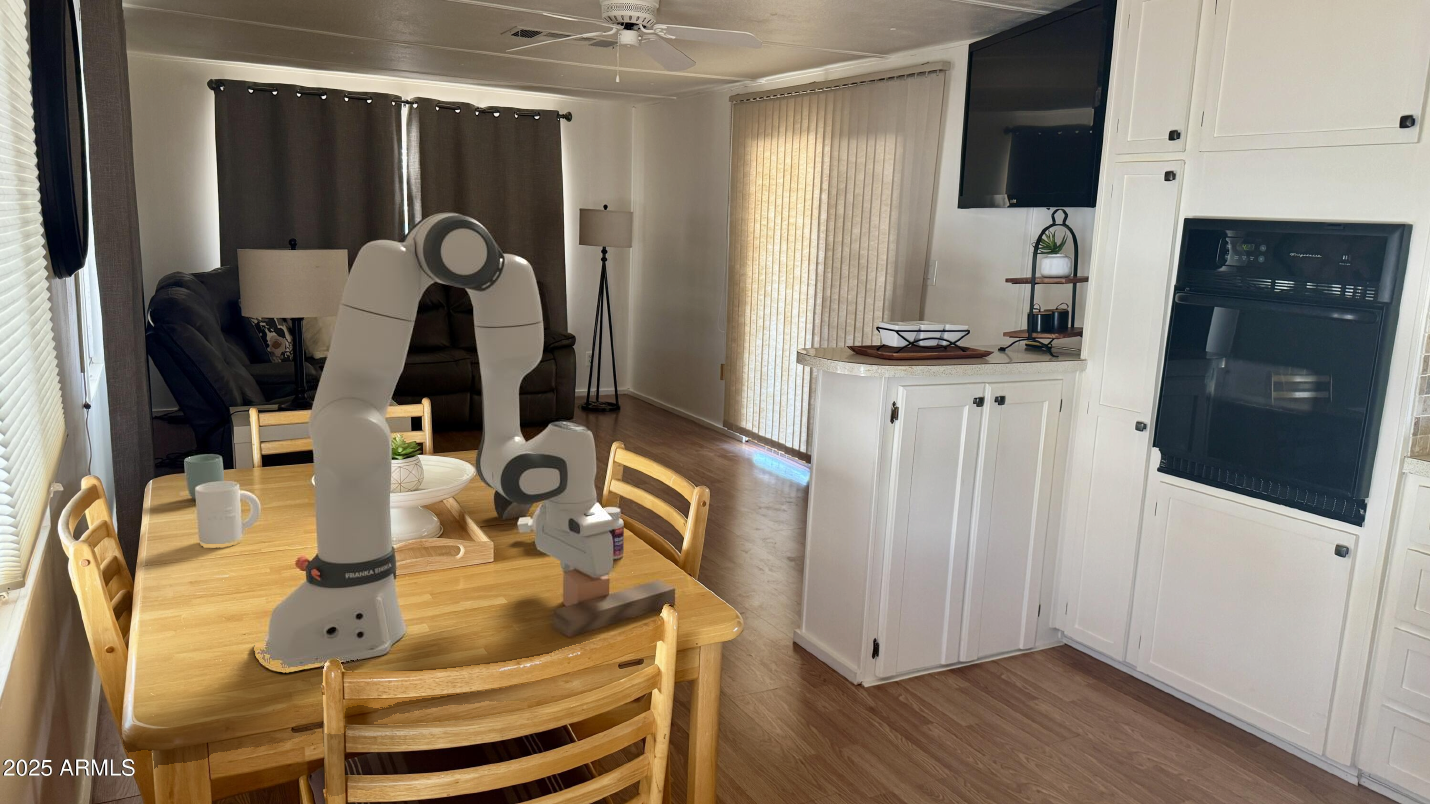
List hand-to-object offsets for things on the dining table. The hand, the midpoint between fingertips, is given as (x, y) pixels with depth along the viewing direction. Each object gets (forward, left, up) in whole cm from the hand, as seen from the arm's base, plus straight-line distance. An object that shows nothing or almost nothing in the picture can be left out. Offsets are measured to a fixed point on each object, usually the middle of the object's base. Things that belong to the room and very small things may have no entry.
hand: (572, 586), depth 167 cm
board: (+2, -11, -2) cm, 11 cm away
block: (-1, -5, -2) cm, 5 cm away
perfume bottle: (+13, +30, -3) cm, 33 cm away
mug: (-39, +69, -2) cm, 79 cm away
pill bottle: (+18, +14, -3) cm, 23 cm away
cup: (-36, +104, -2) cm, 110 cm away
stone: (+15, +48, -3) cm, 50 cm away
